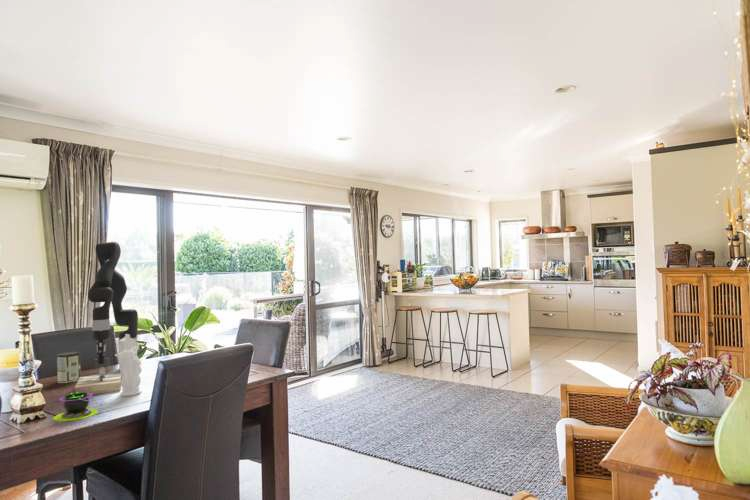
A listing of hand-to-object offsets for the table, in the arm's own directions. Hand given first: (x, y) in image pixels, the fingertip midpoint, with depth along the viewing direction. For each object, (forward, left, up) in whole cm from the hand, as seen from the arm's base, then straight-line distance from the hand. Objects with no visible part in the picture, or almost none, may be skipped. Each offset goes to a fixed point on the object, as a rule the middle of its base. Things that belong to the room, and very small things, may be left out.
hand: (101, 362), depth 233 cm
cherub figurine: (+23, +11, -12) cm, 28 cm away
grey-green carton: (-24, -16, -12) cm, 31 cm away
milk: (-17, +11, -12) cm, 23 cm away
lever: (+3, 0, -7) cm, 8 cm away
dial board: (+3, -1, -11) cm, 12 cm away
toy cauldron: (+47, -6, -12) cm, 49 cm away
